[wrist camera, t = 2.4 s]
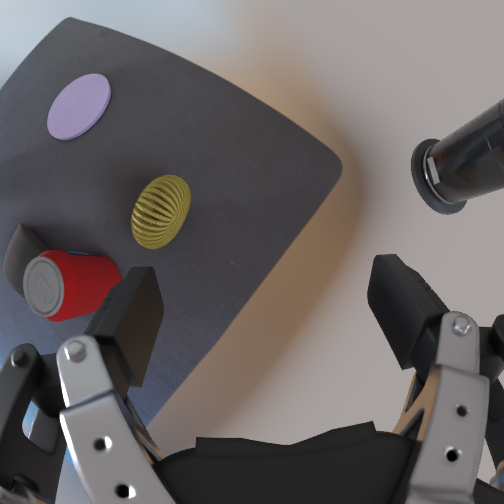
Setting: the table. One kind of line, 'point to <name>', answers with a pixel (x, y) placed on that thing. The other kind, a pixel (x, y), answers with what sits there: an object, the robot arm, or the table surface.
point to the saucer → (78, 106)
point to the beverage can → (68, 283)
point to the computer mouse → (21, 256)
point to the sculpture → (160, 211)
